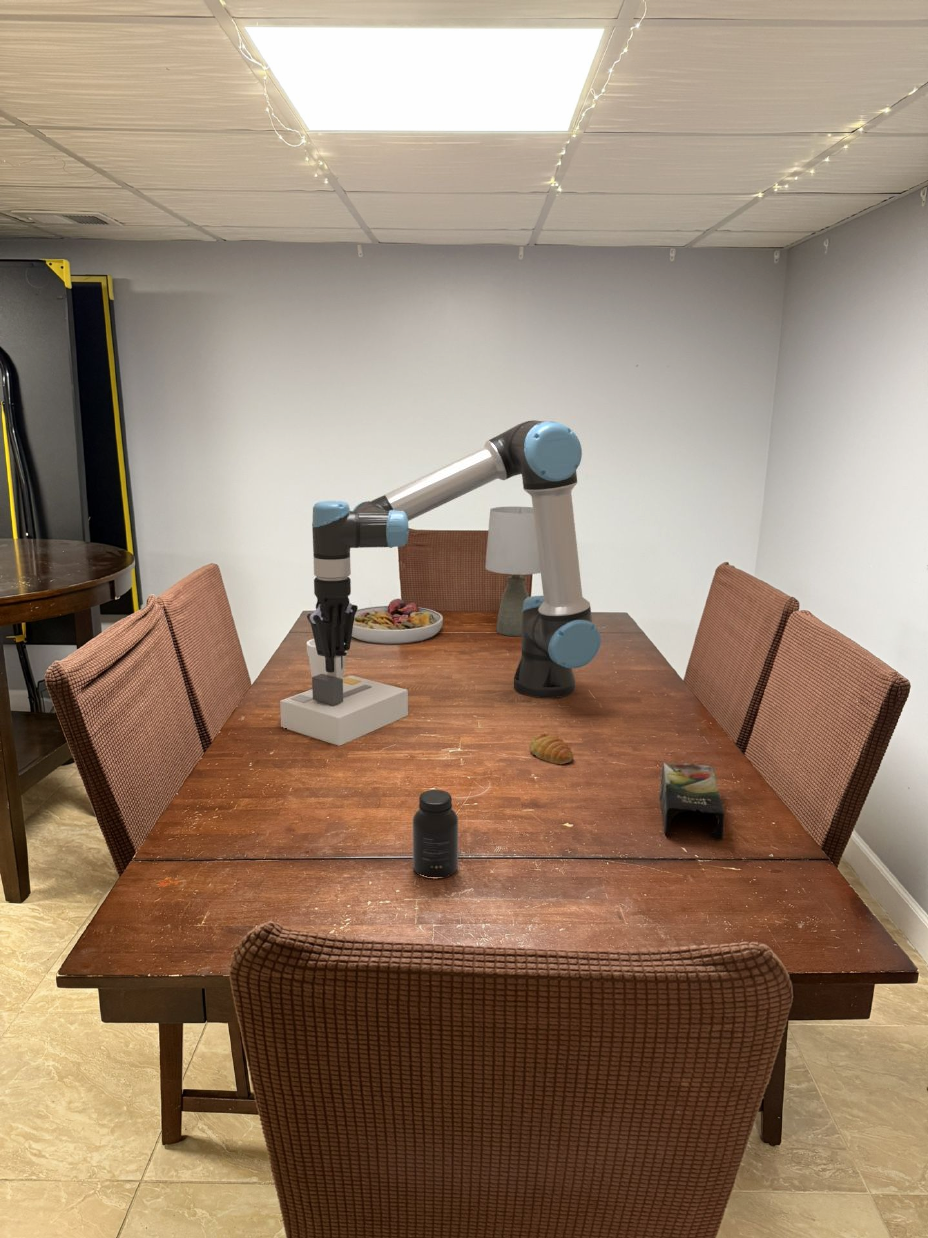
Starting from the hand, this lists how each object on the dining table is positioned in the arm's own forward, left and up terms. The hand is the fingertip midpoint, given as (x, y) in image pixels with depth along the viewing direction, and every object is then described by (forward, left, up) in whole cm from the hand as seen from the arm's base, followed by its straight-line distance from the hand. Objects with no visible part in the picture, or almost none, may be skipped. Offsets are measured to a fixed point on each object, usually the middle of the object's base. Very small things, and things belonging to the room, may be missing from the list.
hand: (334, 685), depth 187 cm
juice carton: (-77, -7, -10) cm, 78 cm away
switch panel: (0, -3, -9) cm, 10 cm away
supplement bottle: (-53, +34, -9) cm, 64 cm away
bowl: (+39, -66, -10) cm, 77 cm away
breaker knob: (0, +2, -3) cm, 4 cm away
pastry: (-45, -15, -10) cm, 49 cm away
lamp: (+11, -89, -9) cm, 90 cm away
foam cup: (+15, -13, -9) cm, 22 cm away
